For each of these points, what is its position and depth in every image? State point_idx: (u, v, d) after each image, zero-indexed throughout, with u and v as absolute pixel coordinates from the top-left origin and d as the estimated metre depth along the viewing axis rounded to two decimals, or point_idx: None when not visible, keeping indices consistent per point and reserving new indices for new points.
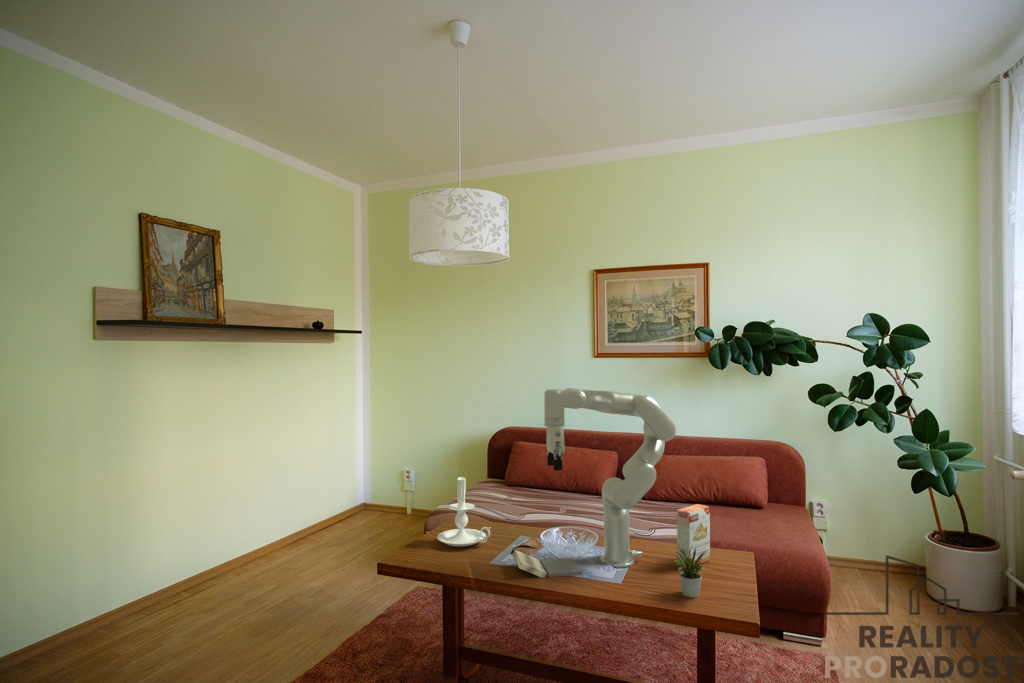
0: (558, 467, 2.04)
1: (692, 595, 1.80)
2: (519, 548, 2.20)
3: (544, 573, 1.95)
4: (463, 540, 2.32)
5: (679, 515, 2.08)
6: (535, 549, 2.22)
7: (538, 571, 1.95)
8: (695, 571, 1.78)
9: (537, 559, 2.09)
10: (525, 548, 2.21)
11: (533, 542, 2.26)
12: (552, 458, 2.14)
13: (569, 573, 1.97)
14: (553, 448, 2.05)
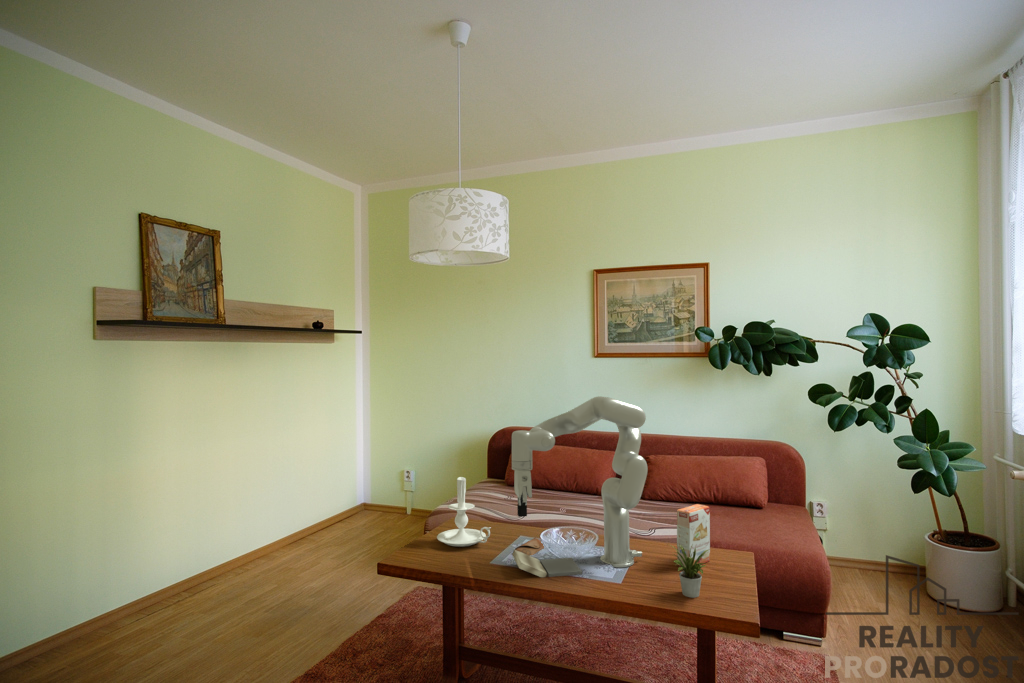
0: (522, 513, 2.00)
1: (692, 595, 1.80)
2: (521, 548, 2.20)
3: (544, 573, 1.95)
4: (463, 540, 2.32)
5: (679, 515, 2.08)
6: (537, 549, 2.22)
7: (538, 571, 1.95)
8: (695, 571, 1.78)
9: (537, 559, 2.09)
10: (527, 548, 2.21)
11: (534, 542, 2.26)
12: None
13: (569, 573, 1.97)
14: (520, 493, 1.97)
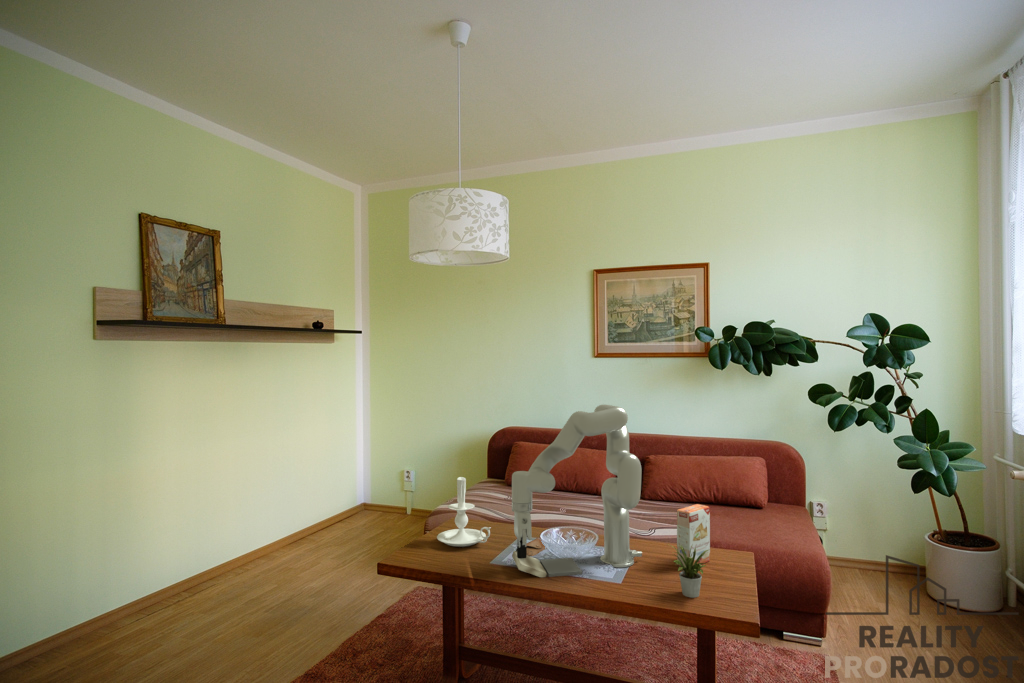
0: (522, 555, 2.00)
1: (692, 595, 1.80)
2: None
3: (544, 573, 1.95)
4: (463, 540, 2.32)
5: (679, 515, 2.08)
6: (538, 550, 2.21)
7: (538, 571, 1.95)
8: (695, 571, 1.78)
9: (537, 559, 2.09)
10: (528, 549, 2.20)
11: (536, 543, 2.25)
12: None
13: (569, 573, 1.97)
14: (519, 535, 1.97)
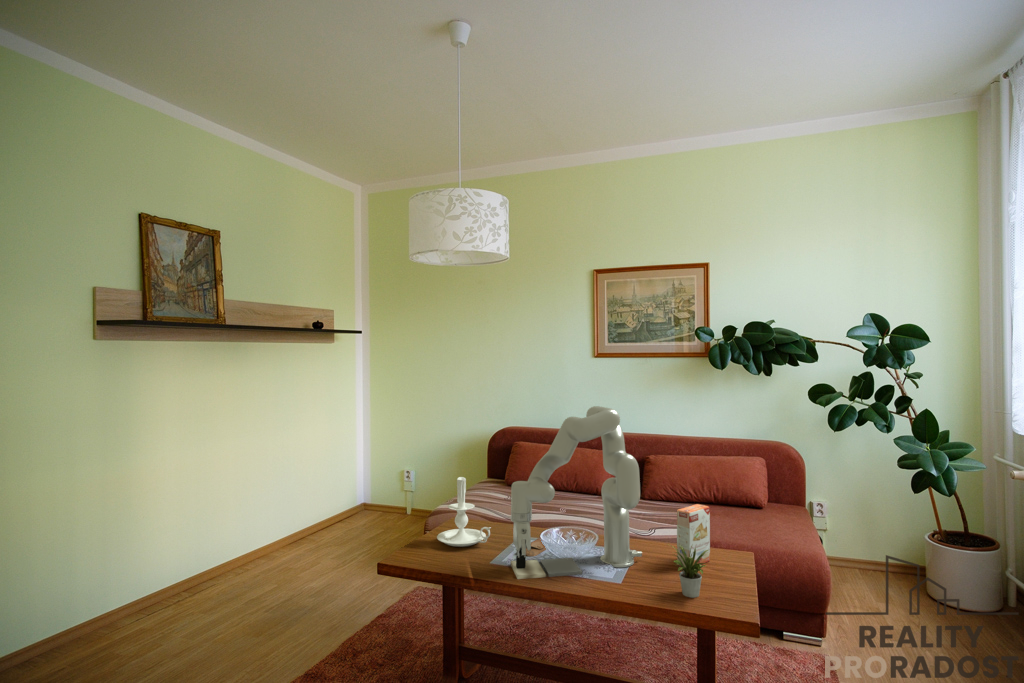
0: (521, 565, 2.00)
1: (692, 595, 1.80)
2: None
3: (543, 575, 1.95)
4: (463, 540, 2.32)
5: (679, 515, 2.08)
6: (540, 550, 2.21)
7: (537, 575, 1.95)
8: (695, 571, 1.78)
9: (536, 560, 2.08)
10: None
11: (538, 543, 2.25)
12: None
13: (569, 573, 1.97)
14: (519, 546, 1.96)
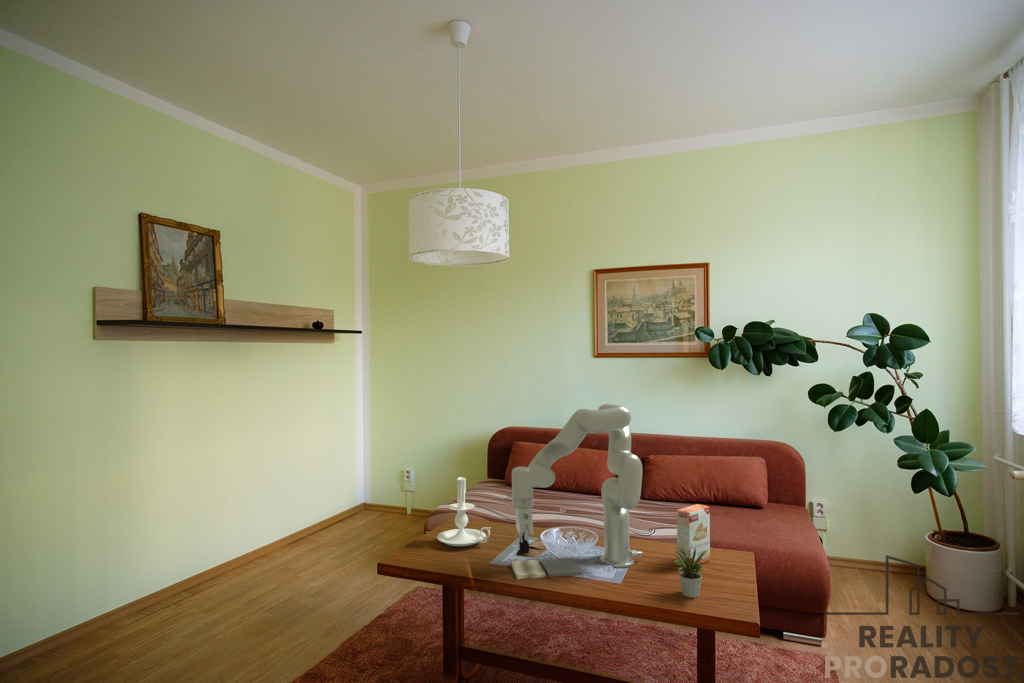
0: (524, 550, 2.00)
1: (692, 595, 1.80)
2: None
3: (543, 575, 1.95)
4: (463, 540, 2.32)
5: (679, 514, 2.08)
6: (541, 550, 2.21)
7: (537, 575, 1.95)
8: (695, 571, 1.78)
9: (536, 560, 2.08)
10: (531, 549, 2.20)
11: (539, 543, 2.25)
12: None
13: (569, 573, 1.97)
14: (521, 531, 1.97)
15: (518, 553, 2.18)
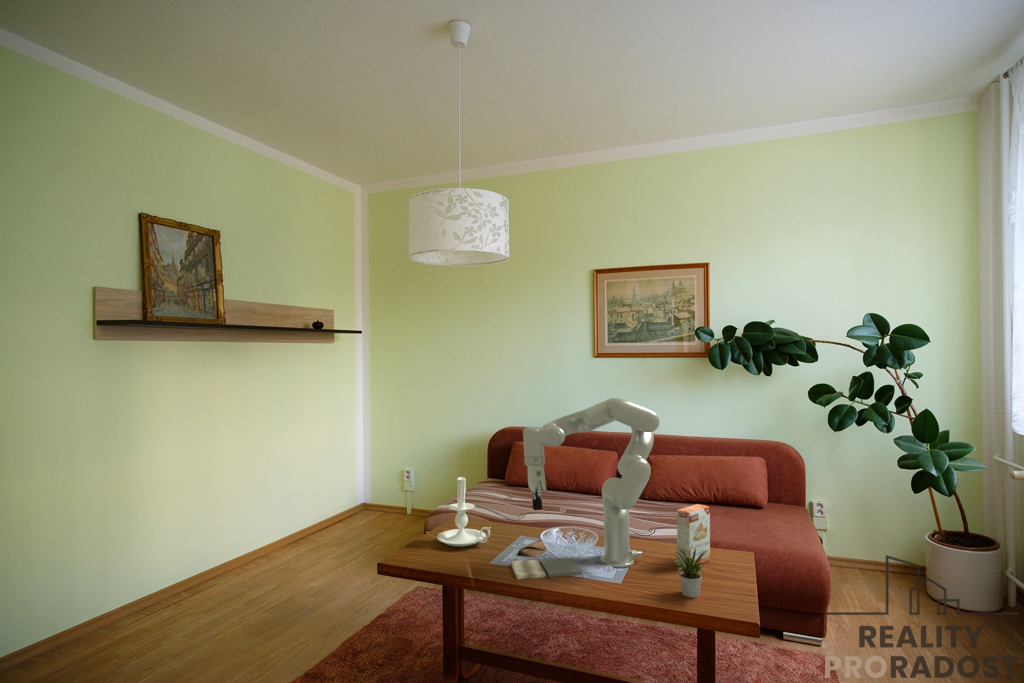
0: (538, 507, 2.07)
1: (692, 595, 1.80)
2: (525, 550, 2.18)
3: (543, 575, 1.95)
4: (463, 540, 2.32)
5: (679, 515, 2.08)
6: (542, 551, 2.20)
7: (537, 575, 1.95)
8: (695, 571, 1.78)
9: (536, 560, 2.08)
10: (532, 550, 2.19)
11: (540, 543, 2.24)
12: None
13: (569, 573, 1.97)
14: (534, 487, 2.04)
15: (519, 553, 2.17)
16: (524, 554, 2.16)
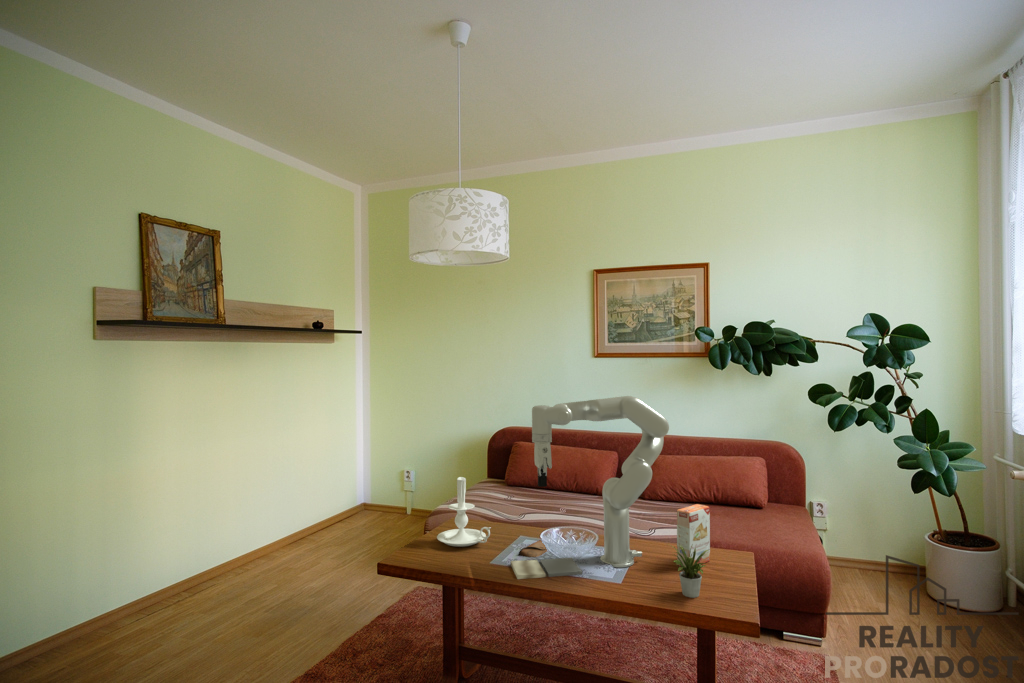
0: (543, 483, 2.11)
1: (692, 595, 1.80)
2: (526, 550, 2.18)
3: (543, 575, 1.95)
4: (463, 540, 2.32)
5: (679, 514, 2.08)
6: (543, 551, 2.20)
7: (537, 575, 1.95)
8: (695, 571, 1.78)
9: (536, 560, 2.08)
10: (532, 550, 2.19)
11: (540, 544, 2.24)
12: None
13: (569, 573, 1.97)
14: (540, 464, 2.08)
15: (520, 553, 2.17)
16: (525, 554, 2.16)
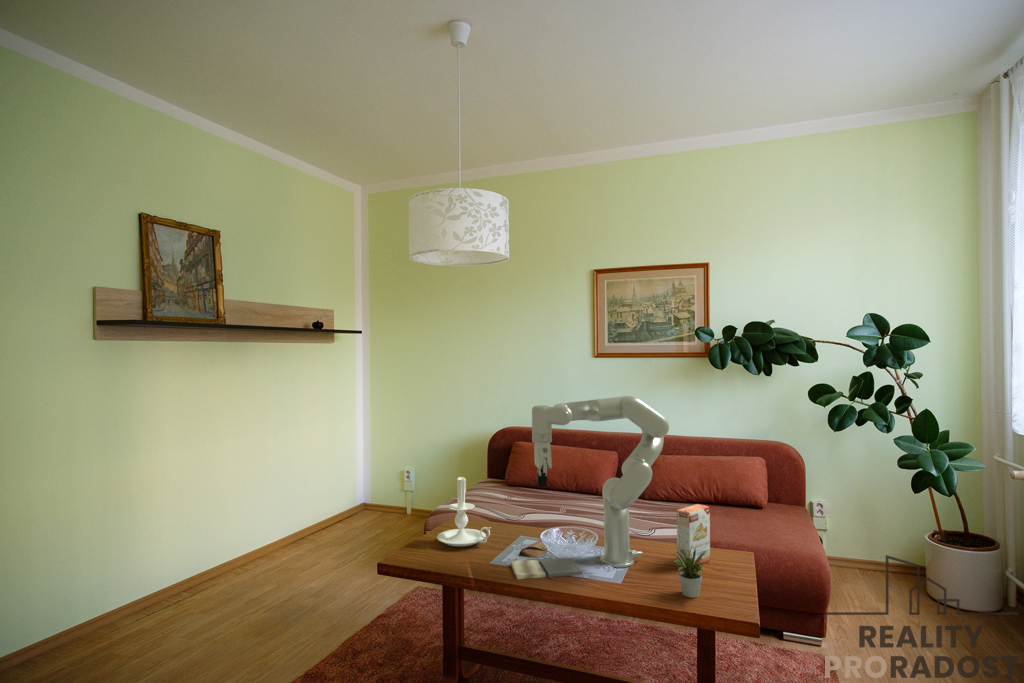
0: (543, 483, 2.11)
1: (692, 595, 1.80)
2: (527, 550, 2.18)
3: (543, 575, 1.95)
4: (463, 540, 2.32)
5: (679, 515, 2.08)
6: (543, 551, 2.20)
7: (537, 575, 1.95)
8: (695, 571, 1.78)
9: (536, 560, 2.08)
10: (533, 550, 2.19)
11: (541, 544, 2.24)
12: None
13: (569, 573, 1.97)
14: (540, 464, 2.08)
15: (520, 554, 2.17)
16: (526, 554, 2.16)
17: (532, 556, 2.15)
